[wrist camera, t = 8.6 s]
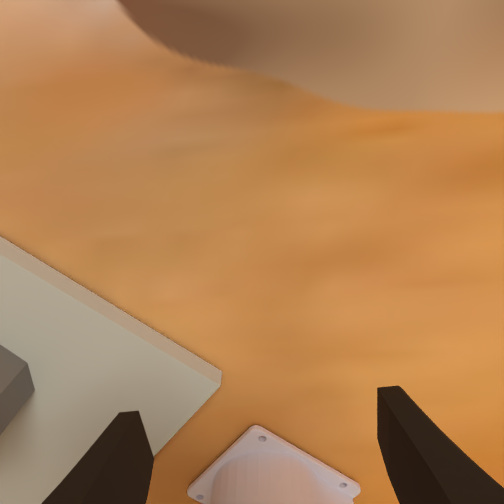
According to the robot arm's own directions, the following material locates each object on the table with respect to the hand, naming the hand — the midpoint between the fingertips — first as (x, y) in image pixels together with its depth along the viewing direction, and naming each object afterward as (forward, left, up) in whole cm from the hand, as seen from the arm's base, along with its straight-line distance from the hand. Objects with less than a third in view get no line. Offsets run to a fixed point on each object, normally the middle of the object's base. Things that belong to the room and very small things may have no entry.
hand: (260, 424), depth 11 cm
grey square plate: (+6, +15, -9) cm, 19 cm away
